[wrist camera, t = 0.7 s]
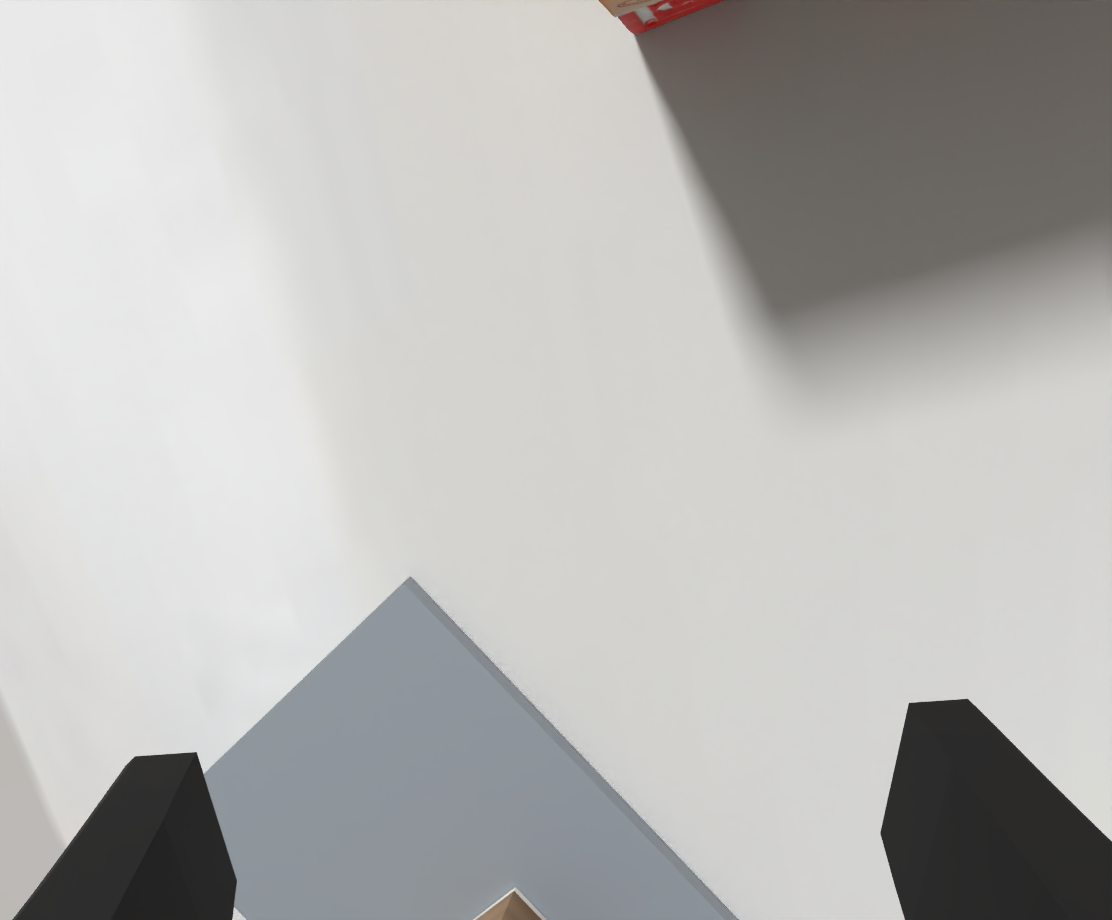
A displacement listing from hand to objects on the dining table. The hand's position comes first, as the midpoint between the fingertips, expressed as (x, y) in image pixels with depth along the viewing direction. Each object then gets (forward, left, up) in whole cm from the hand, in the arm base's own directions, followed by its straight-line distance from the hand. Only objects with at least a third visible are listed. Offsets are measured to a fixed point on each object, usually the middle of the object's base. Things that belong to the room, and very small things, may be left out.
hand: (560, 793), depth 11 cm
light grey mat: (-7, +18, -20) cm, 27 cm away
